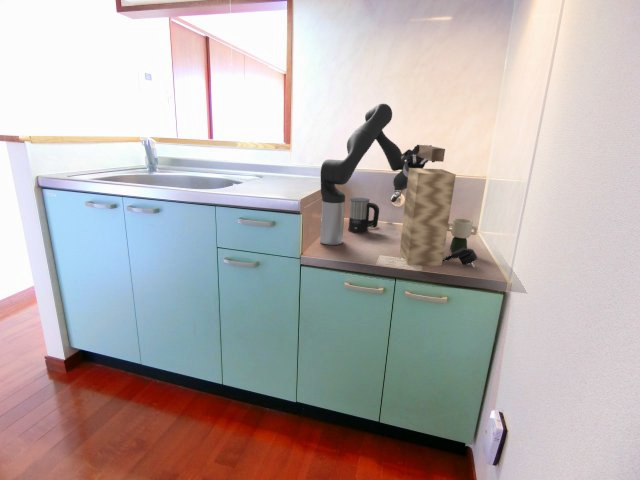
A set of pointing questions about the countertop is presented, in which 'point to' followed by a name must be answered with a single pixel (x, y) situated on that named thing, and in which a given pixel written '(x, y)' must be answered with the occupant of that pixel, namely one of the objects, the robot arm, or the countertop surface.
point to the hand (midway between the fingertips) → (424, 147)
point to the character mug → (460, 233)
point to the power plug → (463, 256)
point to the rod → (431, 153)
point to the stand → (426, 216)
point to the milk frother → (362, 215)
